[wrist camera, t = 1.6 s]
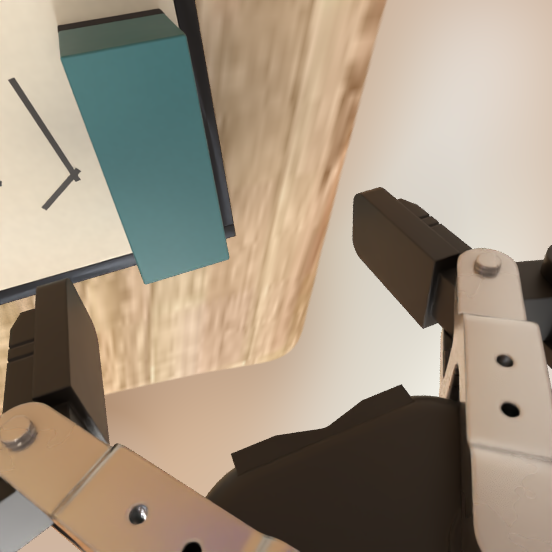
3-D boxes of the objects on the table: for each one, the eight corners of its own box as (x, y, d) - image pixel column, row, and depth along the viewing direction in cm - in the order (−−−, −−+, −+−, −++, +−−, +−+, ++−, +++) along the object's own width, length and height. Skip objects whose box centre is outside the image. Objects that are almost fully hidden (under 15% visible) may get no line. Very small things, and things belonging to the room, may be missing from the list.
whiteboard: (-451, 9, 16) (-480, 16, 15) (176, -73, 20) (182, -72, 20) (-128, 330, 26) (-133, 344, 26) (231, 226, 31) (236, 236, 30)
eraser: (56, 25, 20) (59, 57, 16) (159, 7, 21) (186, 33, 17) (130, 228, 27) (144, 285, 23) (204, 208, 28) (230, 259, 24)
